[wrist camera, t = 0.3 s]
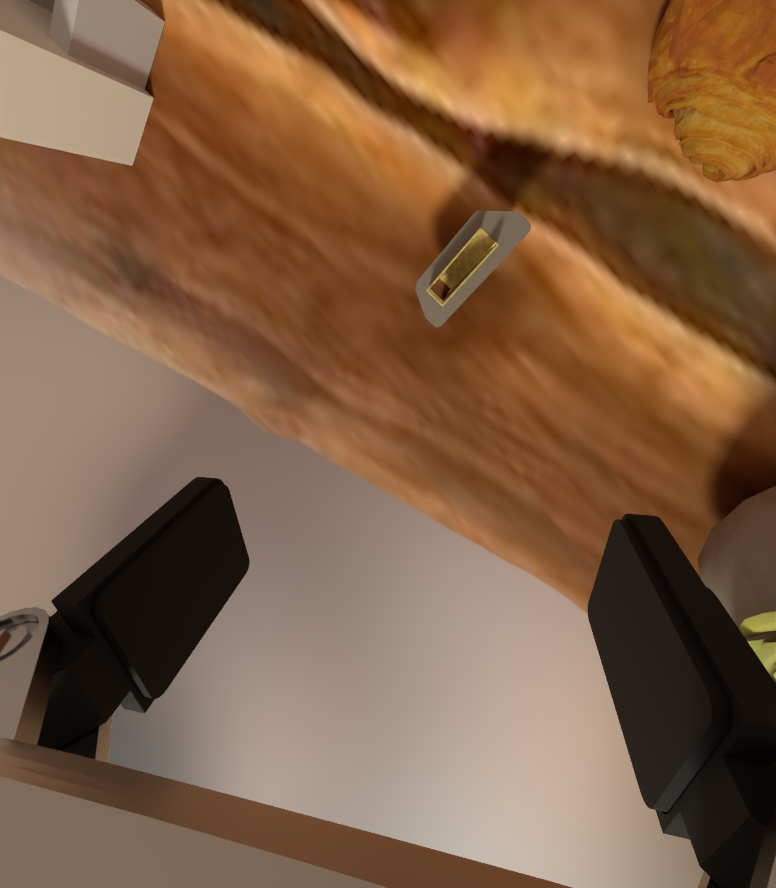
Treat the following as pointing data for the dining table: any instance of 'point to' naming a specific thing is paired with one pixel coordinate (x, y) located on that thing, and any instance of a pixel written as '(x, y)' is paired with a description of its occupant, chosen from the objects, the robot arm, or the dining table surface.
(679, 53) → the croissant
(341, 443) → the dining table surface
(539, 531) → the dining table surface
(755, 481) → the dining table surface
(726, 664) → the robot arm
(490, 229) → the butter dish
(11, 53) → the post
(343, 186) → the dining table surface
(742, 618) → the flower arrangement
